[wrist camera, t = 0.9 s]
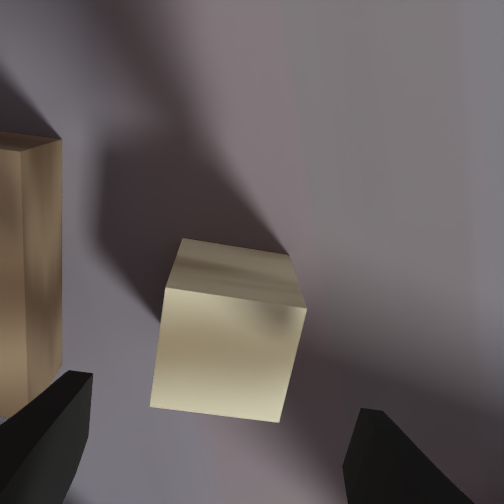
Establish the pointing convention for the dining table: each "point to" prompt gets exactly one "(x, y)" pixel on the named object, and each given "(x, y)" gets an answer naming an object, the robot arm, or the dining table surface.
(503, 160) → the dining table surface
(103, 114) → the dining table surface
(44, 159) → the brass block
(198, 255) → the birch cube
